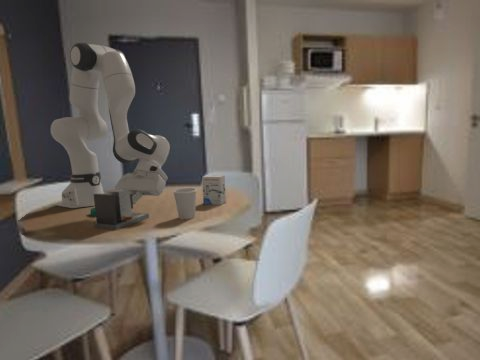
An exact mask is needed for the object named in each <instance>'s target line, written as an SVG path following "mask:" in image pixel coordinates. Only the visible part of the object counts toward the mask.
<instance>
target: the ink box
mask: <svg viewBox="0 0 480 360" xmlns="http://www.w3.org/2000/svg"><path fill="white" fill-rule="evenodd" d="M201 179H202V180H201V181H202V198H203V200H202V201H203V205H211V204H213V205H216V206H222V205H223V204H226V203H227V195H226V194H227V193H226V176H225V175H224V174H206V175H204V176H202V177H201ZM213 205H212V206H213Z"/></svg>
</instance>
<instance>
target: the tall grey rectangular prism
mask: <svg viewBox="0 0 480 360" xmlns="http://www.w3.org/2000/svg"><path fill="white" fill-rule="evenodd" d="M105 194H114V201H115V210H116V220H118V221H123V220H125V219H133V217H132V210H133V209H134V204H133V202H132V195H130V193H129V189H115V188H114V189H110V190H106V191H105Z"/></svg>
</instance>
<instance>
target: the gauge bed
mask: <svg viewBox="0 0 480 360" xmlns="http://www.w3.org/2000/svg"><path fill="white" fill-rule="evenodd" d="M93 195H94V203H95V205H94V208H95V212H96V217H95V218H96V222H94V228H96V229H98V228H99V229H104V230H105V229H106V230H114V231H115V230H116V231H117V230H120V229H122V228H125V227H128V226H130V225H133V224H136V223H138V222H142V221H144V220H146V219H149V218H150V213H146V212H134V211H133V212H132V211H131V212H132V217H133V219H125V220H123V221H118V220H116V210H115V201H114V194H106V193H104V194H93Z"/></svg>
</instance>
